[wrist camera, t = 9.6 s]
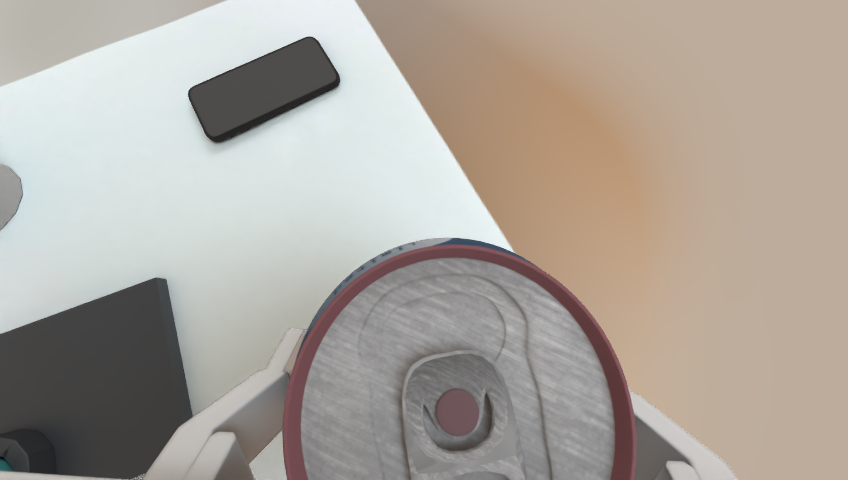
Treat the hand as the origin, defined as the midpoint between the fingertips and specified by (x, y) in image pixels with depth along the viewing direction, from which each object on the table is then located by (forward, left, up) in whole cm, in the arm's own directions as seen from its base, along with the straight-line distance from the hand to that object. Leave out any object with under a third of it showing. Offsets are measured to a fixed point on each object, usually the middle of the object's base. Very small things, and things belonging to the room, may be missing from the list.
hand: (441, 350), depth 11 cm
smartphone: (+30, +7, -19) cm, 36 cm away
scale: (+6, +29, -19) cm, 35 cm away
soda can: (-1, 0, -7) cm, 7 cm away
